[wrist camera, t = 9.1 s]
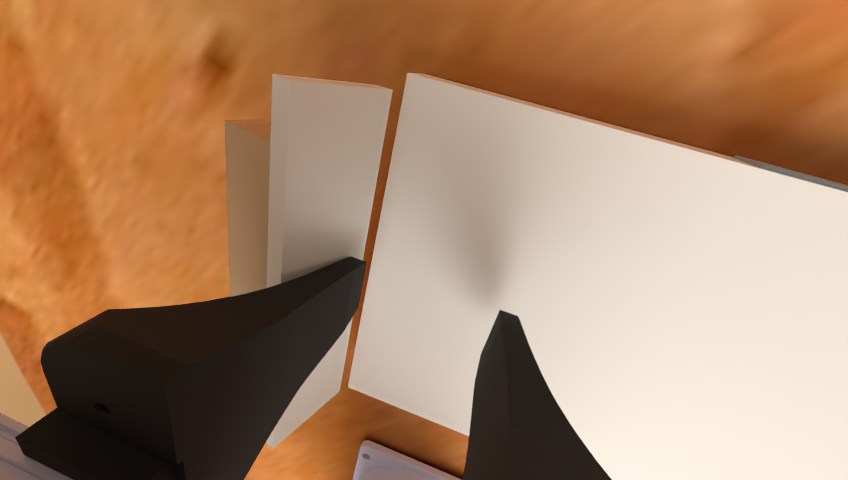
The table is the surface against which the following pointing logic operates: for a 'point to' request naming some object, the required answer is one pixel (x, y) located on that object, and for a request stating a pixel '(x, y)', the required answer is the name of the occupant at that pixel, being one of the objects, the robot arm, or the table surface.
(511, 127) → the carton
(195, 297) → the table surface
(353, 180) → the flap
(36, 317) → the table surface
